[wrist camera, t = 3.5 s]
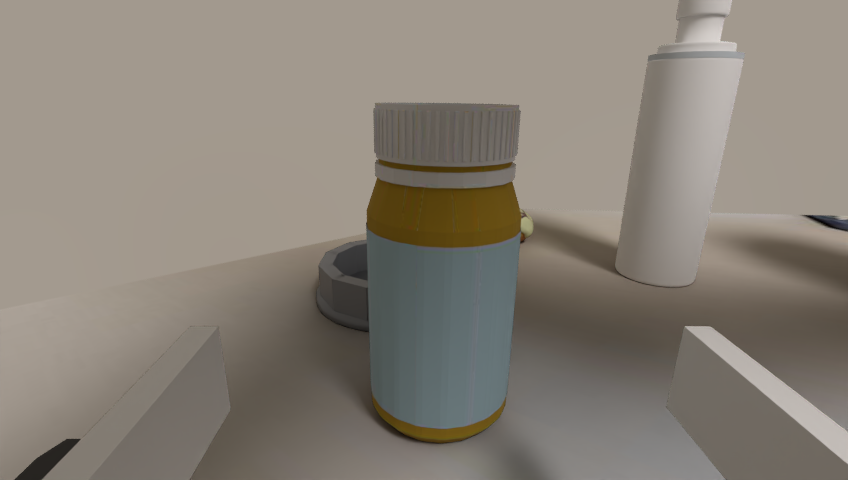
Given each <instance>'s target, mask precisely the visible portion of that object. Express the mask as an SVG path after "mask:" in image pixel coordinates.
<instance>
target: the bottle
mask: <svg viewBox="0 0 848 480" xmlns="http://www.w3.org/2000/svg"><path fill="white" fill-rule="evenodd" d="M520 112H521V111H520V110H519V105H503V104H501V105H500V104H461V103H375V108H374V152H375V153H376V157H377V158H378V160H376V162H375V176H376V177H377V181H376V184H375V187H374V190H373V193H372V196H371V199H370V202H369V205H368V208H367V223H366V229H367V265H368V302H369V338H370V374H371V390H372V400H373V405H374V407H375V408H376V410H377V412H378V413H379V415H380V416H381V417H382V418H383V419H384V420H385V421H386V422H388V423H389V424H390V425H392V426H393V427H394V428H396V429H397V430H398V431H400V432H401V433H403V434H404V435H407V436H410V437H412V438H415V439H418V440H420V441H426V442H435V443H447V442H455V441H462V440H464V439H467V438H469V437H472V436H474V435H477V434H478V433H480V432H481V431H483V430H485V429H486V428H488V427H489V426H490V425H491V424H493V423H494V422H495V421H496V420H497V419H498V418H499V417H500V415H501V413H502V411H503V409H504V407H505V403H506V395H507V387H508V376H509V364H510V353H511V341H512V329H513V318H514V306H515V295H516V283H517V272H518V260H519V249H520V237H521V217H522V216H521V212H520V208H519V205H518V201H517V197H516V194H515V190H514V186H513V183H512V181H513V180H514V178H515V169H516V164H514V163H513V162H512V161H514V160H515V156H516V155H517V150H518V137H519V125H520V124H519V123H520Z"/></svg>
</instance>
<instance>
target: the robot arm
mask: <svg viewBox="0 0 848 480" xmlns="http://www.w3.org/2000/svg"><path fill="white" fill-rule="evenodd" d="M666 407H667V408H668V409H669V411H670V412H671V413H672V414H673V416H674V417H675V418H676V419H677V420H678V422H679V423H680V424H681V425H682V427H683V428H684V429H685V430H686V431H687V433H688V434H689V435H690V436H691V438H692V439H693V440H694V441H695V442H696V444H697V445H698V446H699V447H700V448H701V450H702V451H703V452H704V453H705V455H706V456H707V457H708V458H709V459H710V461H711V462H712V463H713V464H714V466H715V467H716V468H717V469H718V470H719V472H720V473H721V474H722V475H723V477H724V478H725V479H726V480H848V432H847V431H846V430H845V429H843V428H842V427H841V426H840V425H838V424H837V423H836V422H834V421H833V420H832V419H830V418H829V417H828V416H827V415H825V414H824V413H823V412H821V411H820V410H819V409H817V408H816V407H815V406H814V405H812V404H811V403H810V402H808V401H807V400H806V399H804V398H803V397H802V396H801V395H799V394H798V393H797V392H795V391H794V390H793V389H791V388H790V387H789V386H788V385H786V384H785V383H784V382H782V381H781V380H780V379H778V378H777V377H776V376H774V375H773V374H772V373H771V372H769V371H768V370H767V369H765V368H764V367H763V366H761V365H760V364H759V363H758V362H756V361H755V360H754V359H752V358H751V357H750V356H748V355H747V354H746V353H745V352H743V351H742V350H741V349H739V348H738V347H737V346H735V345H734V344H733V343H732V342H730V341H729V340H728V339H726V338H725V337H724V336H722V335H721V334H720V333H719V332H717V331H716V330H715V329H713V328H712V327H711V326H684V329H683V334H682V338H681V343H680V347H679V352H678V356H677V361H676V365H675V370H674V374H673V379H672V383H671V388H670V392H669V397H668V401H667V406H666ZM230 410H231V407H230V400H229V393H228V387H227V380H226V373H225V366H224V360H223V353H222V346H221V339H220V333H219V326H190V327H189V329H188V330H187V331H186V332H185V333H184V334H183V335H182V336H181V337H180V338H179V339H178V340H177V341H176V342H175V343H174V344H173V345H172V346H171V347H170V348H169V349H168V350H167V351H166V352H165V353H164V354H163V355H162V356H161V357H160V358H159V359H158V360H157V361H156V363H155V364H154V365H153V366H152V367H151V368H150V369H149V370H148V371H147V372H146V373H145V374H144V375H143V376H142V377H141V378H140V379H139V380H138V381H137V382H136V383H135V384H134V385H133V386H132V387H131V388H130V389H129V390H128V391H127V392H126V393H125V394H124V395H123V397H122V398H121V399H120V400H119V401H118V402H117V403H116V404H115V405H114V406H113V407H112V408H111V409H110V410H109V411H108V412H107V413H106V414H105V415H104V416H103V417H102V418H101V419H100V420H99V421H98V422H97V423H96V424H95V425H94V426H93V427H92V428H91V429H90V431H89V432H88V433H87V434H86V435H85V436H84V437H83V438H82V439H66V440H65V441H63V442H61V443H60V444H58V445H57V446H55V447H54V448H52V449H51V450H49V451H47V452H46V453H44V454H43V455H41V456H40V457H38V458H37V459H35V460H34V461H33V462H32V463H31V464H30V465H29V466H28V467H27V468H26V469H25V470H24V471H23V472H22V473H21V474H20V475H19V476H18V477H17V478H16V479H15V480H190V478H191V476H192V475H193V473H194V471H195V470H196V468H197V466H198V464H199V463H200V461H201V459H202V458H203V456H204V454H205V452H206V451H207V449H208V447H209V446H210V444H211V442H212V440H213V439H214V437H215V435H216V434H217V432H218V430H219V428H220V427H221V425H222V423H223V422H224V420H225V418H226V416H227V415H228V413H229V411H230Z"/></svg>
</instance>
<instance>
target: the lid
mask: <svg viewBox="0 0 848 480" xmlns="http://www.w3.org/2000/svg"><path fill="white" fill-rule="evenodd" d="M319 280H320V285H319V287H318V289H317V293H316V298H317V305H318V308H319V310H320V311H321V313H322V314H323V315H324V316H326V317H327V318H328V319H330V320H332V321H334V322H336V323H338V324H340V325H343V326H346V327H349V328H353V329H357V330H362V331H369V302H368V265H367V240H362V241H355V242H349V243H346V244H344V245H342V246H340V247H337V248H335V249H333V250H330V251H328V252H326V253H325V255H324V257H323V258H322V260H321V262H320V264H319Z"/></svg>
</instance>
